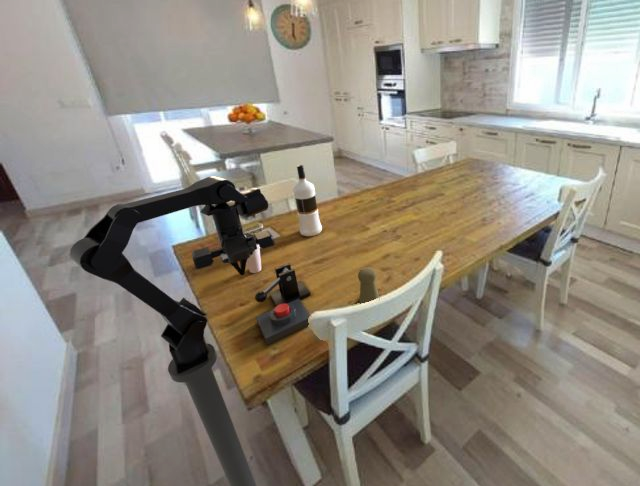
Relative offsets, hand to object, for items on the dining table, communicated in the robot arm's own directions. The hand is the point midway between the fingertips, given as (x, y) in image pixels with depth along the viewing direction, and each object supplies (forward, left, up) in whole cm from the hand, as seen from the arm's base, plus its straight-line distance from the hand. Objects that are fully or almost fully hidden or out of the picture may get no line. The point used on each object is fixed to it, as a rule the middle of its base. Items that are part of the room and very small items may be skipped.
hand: (242, 274), depth 89 cm
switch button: (+6, -11, -9) cm, 16 cm away
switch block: (+6, -11, -13) cm, 18 cm away
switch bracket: (+11, 0, -13) cm, 17 cm away
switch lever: (+8, 0, -9) cm, 11 cm away
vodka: (+32, +37, -13) cm, 51 cm away
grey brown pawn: (+29, -18, -13) cm, 36 cm away
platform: (+11, +47, -13) cm, 50 cm away
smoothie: (+6, +22, -13) cm, 26 cm away
